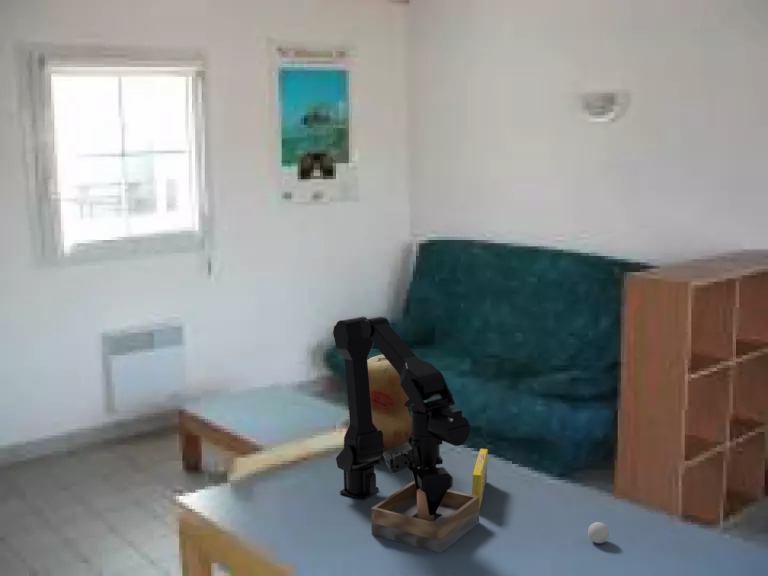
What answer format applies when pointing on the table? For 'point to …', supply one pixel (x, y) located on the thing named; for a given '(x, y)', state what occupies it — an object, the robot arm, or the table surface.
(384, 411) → the butternut squash
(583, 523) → the table surface
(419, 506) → the peg
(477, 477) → the candy box
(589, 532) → the sports ball
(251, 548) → the table surface
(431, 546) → the bore box
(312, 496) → the table surface
